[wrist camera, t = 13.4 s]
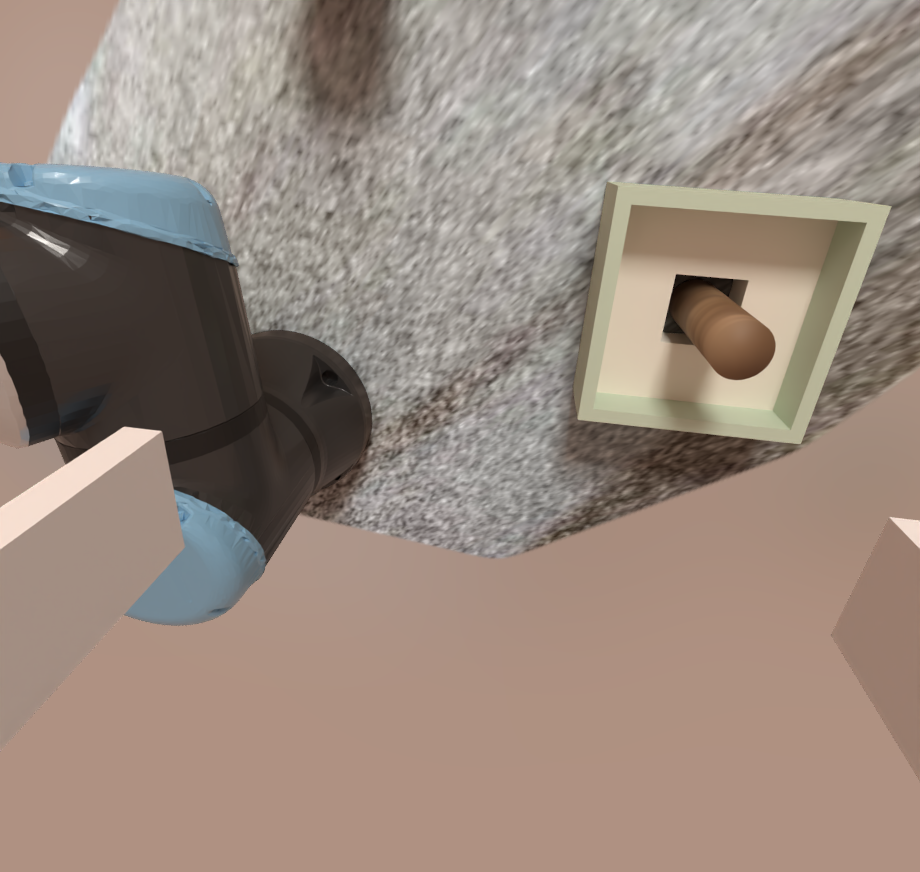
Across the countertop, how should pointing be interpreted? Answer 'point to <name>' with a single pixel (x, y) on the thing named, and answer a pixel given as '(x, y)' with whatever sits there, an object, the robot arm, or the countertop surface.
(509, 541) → the countertop surface
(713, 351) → the peg
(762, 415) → the peg box
